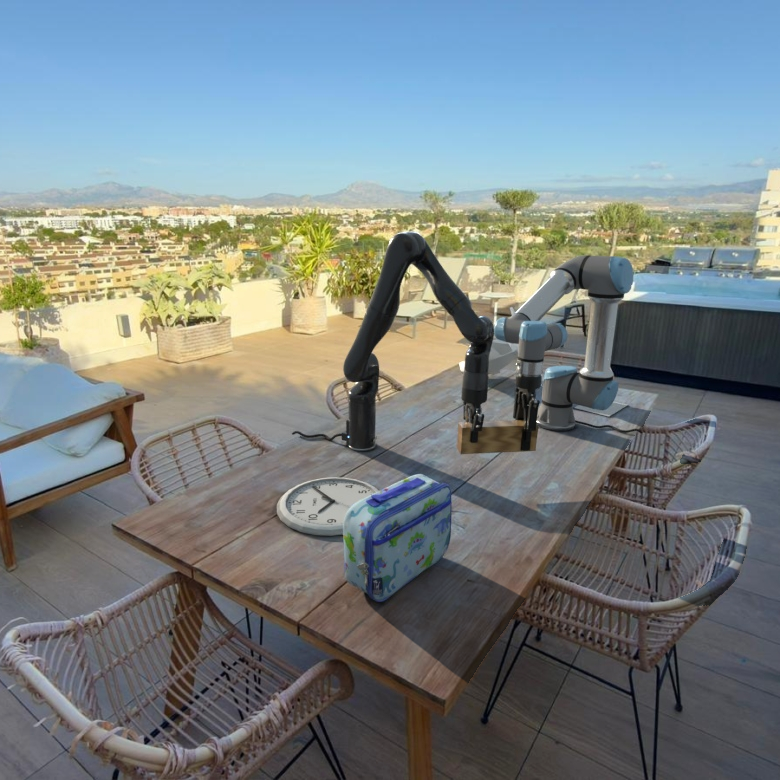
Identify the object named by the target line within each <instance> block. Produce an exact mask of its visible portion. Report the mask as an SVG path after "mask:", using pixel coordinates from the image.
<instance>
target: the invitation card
mask: <svg viewBox="0 0 780 780" xmlns="http://www.w3.org/2000/svg"><path fill="white" fill-rule="evenodd" d="M628 406H629V404H627V403H623V402H618V401H615V400H614V401H613V403H612V405H611V406H610V407H609V408H608V409H606V410H597V409H592V408H588V407H585V406H581V405H575V406H574V407H573V409H575V410H581V411H584V412H587V413H593V414H596V415H600V416H604V417H608V418H609V417H611V416H613V415H614V414H616V413H617V412H619V411H621V410H623V409H624V408H626V407H628Z"/></svg>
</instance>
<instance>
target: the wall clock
mask: <svg viewBox="0 0 780 780" xmlns="http://www.w3.org/2000/svg"><path fill="white" fill-rule="evenodd" d="M380 490H381V489H379V488H377V487H376V486H374V485H372V484H371V483H369V482H365V481H362V480H359V479H355V478H349V477H338V476H337V477H335V476H333V477H332V476H331V477H322V478H317V479H312V480H307V481H305V482H302V483H299V484H297V485H295V486H293V487H292V488H290V489H288V490H287V491H286V492H285V493H284V494H283V495H281V496H280V498H279V499H278V502H277V503H276V515H277V517H278V518H279V520H280V521H281V522H282V523H283V524H285V525H286V526H287V527H288V528H290V529H293V530H295V531H297V532H299V533H303V534H308V535H312V536H327V537H328V536H329V537H331V536H332V537H333V536H343V523H344V518H345V515H346V513H347V511H348V510H349V508H350V507H351V506H352V505H353V504H354V503H356V502H358V501H360V500H362V499H364V498H366V497H368V496H370V495H372V494H374V493H376V492H378V491H380Z"/></svg>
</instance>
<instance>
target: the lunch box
mask: <svg viewBox="0 0 780 780" xmlns="http://www.w3.org/2000/svg"><path fill="white" fill-rule="evenodd" d="M379 490H380V491H378V492H376V493H374V494H372V495H370V496H368V497H366V498H364V499H362V500H360V501H358V502H356V503H354V504H353V505H352V506H351V507H350V508H349V510H348V511H347V513H346V515H345V518H344V523H343V535H342V542H343V566H344V576H345V580H346V582H347V583H348V584H350V585H352V586H354V587H356V588H358V589H359V590H360V591H362V592H363V593H365V594H366V595H367V596H368V597H369V598H370V599H371V600H373V601H375V602H378V603H382V602H384V601H386V600H388V599H389V598H390V597H392V596H393V595H394V594H395V593H396V592H398V591H399V590H400V589H402V588H403V587H405V586H406V585H408V584H409V583H410V582H411V581H413V580H414V579H415V578H417V577H418V576H419V575H420V574H421V573H423V572H425V570H427V569H429V568H431V567H432V566H434V565H435V564H436V563H438V562H439V561H441V559H442V558H443V557H444V556H445V554H446V553H447V550H448V548H449V546H450V543H451V537H452V536H451V535H452V515H453V514H452V511H453V510H452V509H453V508H452V507H453V505H452V490H451V487H450V485H449V484H448V483H445V482H438V481H436V480H435V479H432V478H431V477H428V476H427V475H426V474H425V475H424V474H422V473H417V474H413V475H411V476H408V477H406V478H404V479H402V480H399V481H397V482H395V483H392V484H391V485H388V486H386V487H385V488H382V489H379Z"/></svg>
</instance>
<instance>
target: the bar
mask: <svg viewBox="0 0 780 780" xmlns="http://www.w3.org/2000/svg"><path fill="white" fill-rule="evenodd" d="M476 427H477V426H476ZM522 429H524V420H515V419H513V420H489V421H488V420H487V421H486V420H485V421H483V426H482V431H478V442H477V443H471V442H470V433H471V424H470V423H469V422H465V421H459V422H458V424H457V438H456V439H457V441H456V449H457V451H458V452H459V454H460V455H474V454H475V455H476V454H501V453H520V452H521V453H522V452H523V453H524V452H536V451H537V443H538V442H537V441H538V432H539V426H538V424H536V431H532V434H531V443H530V450H522V451H521V450H520V448H521V438H522Z"/></svg>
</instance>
